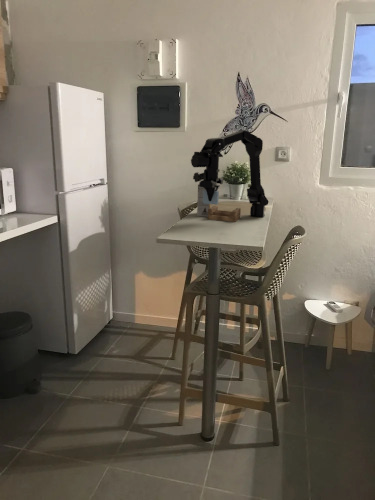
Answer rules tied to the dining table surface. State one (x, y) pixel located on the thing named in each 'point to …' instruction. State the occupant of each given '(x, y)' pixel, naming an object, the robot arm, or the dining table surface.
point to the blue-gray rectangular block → (214, 199)
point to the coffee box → (201, 207)
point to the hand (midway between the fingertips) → (210, 200)
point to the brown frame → (223, 214)
